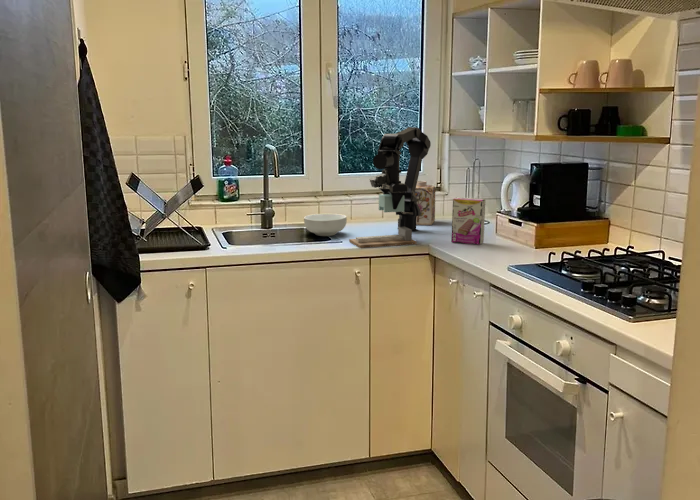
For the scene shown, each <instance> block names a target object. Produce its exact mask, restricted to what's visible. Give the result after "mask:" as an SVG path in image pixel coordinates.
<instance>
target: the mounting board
mask: <svg viewBox="0 0 700 500" xmlns="http://www.w3.org/2000/svg"><path fill="white" fill-rule="evenodd" d="M348 242H349V243H351V244H352V245H354V246H355V245H356V246H355V247H357V248H358V249H364V248H365V249H366V248H379V247H380V248H381V247H383V248H384V247H395V246H397V247H398V246H412V245H417V242H418V241H417V240H414V239H412V241H404V240H394V241H379V242H363V243H358V242H356V238H349V239H348Z"/></svg>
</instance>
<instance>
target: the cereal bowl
mask: <svg viewBox="0 0 700 500" xmlns="http://www.w3.org/2000/svg"><path fill="white" fill-rule="evenodd" d="M303 222H304V227H305V228H306V230H307V231H308V232H310V233H312V234H315V235H316V236H320V237H329V236H331V237H332V236H335V235H336V234H337V233H339V232H341V231H343V230H344V229H345V228H346V225H347V215H345V214H339V213H314V214H308V215H305V216H304V217H303Z"/></svg>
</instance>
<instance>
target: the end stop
mask: <svg viewBox="0 0 700 500" xmlns="http://www.w3.org/2000/svg"><path fill="white" fill-rule="evenodd" d="M397 228H398V229H397V231H398V232H397V235H402V236H403V240H404V241H412V240H413V239H412V237H413V236H412V234H413V231H412V230H411V229H409V228H406V227H398V226H397Z"/></svg>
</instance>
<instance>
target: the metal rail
mask: <svg viewBox="0 0 700 500" xmlns="http://www.w3.org/2000/svg"><path fill="white" fill-rule="evenodd" d="M355 239H356V242H358V243H363V242H379V241H394V240H403V236H402V235H398V234H390V235H389V234H388V235H387V234H385V235H371V236H356V237H355Z"/></svg>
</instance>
